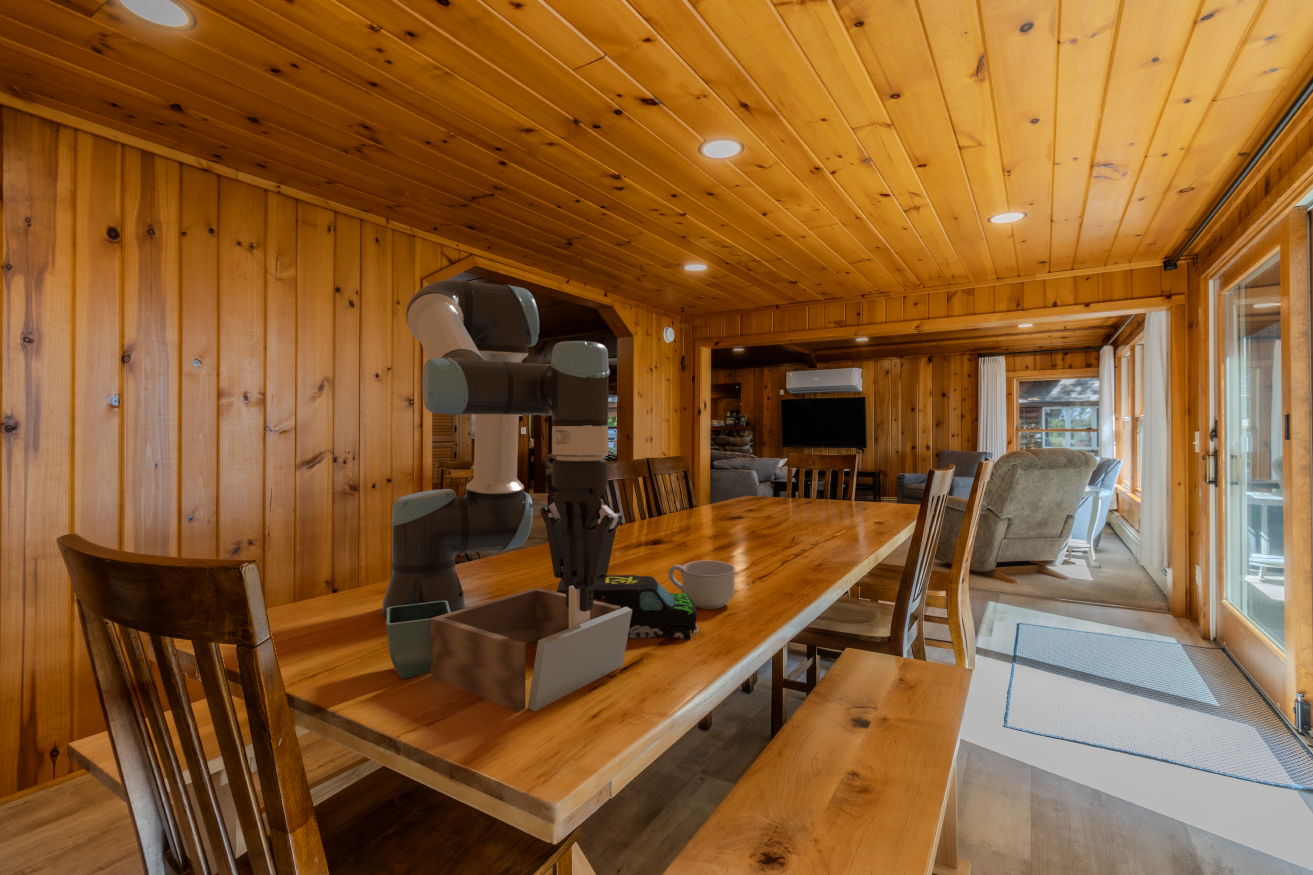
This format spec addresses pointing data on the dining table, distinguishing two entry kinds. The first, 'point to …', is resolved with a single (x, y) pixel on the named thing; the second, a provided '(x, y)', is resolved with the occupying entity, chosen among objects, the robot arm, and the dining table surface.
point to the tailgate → (578, 657)
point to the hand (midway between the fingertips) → (579, 633)
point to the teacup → (706, 582)
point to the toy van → (647, 606)
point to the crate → (498, 642)
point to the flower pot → (412, 636)
